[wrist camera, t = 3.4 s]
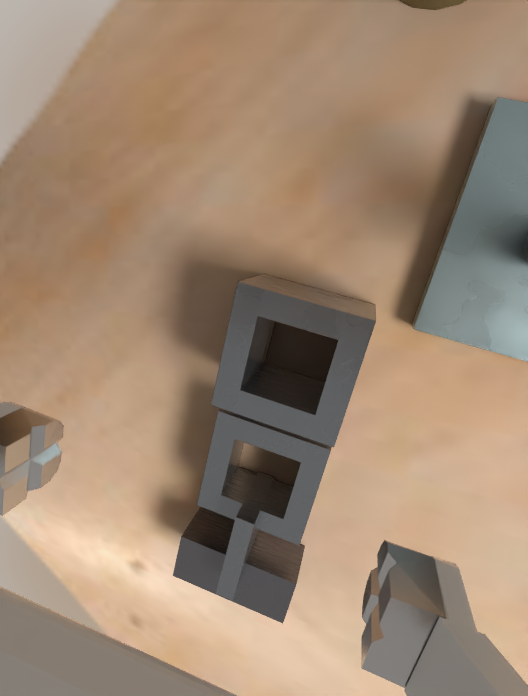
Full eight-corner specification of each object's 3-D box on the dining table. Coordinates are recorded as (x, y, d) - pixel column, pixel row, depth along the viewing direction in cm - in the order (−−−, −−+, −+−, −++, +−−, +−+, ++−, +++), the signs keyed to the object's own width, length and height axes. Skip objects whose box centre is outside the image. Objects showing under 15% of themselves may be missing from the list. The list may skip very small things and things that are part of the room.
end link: (264, 273, 22) (237, 281, 18) (375, 304, 21) (376, 320, 16) (240, 375, 24) (211, 404, 19) (341, 408, 23) (333, 447, 18)
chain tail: (228, 388, 24) (198, 419, 20) (344, 427, 23) (338, 468, 19) (193, 541, 27) (161, 594, 23) (292, 582, 26) (277, 646, 22)
